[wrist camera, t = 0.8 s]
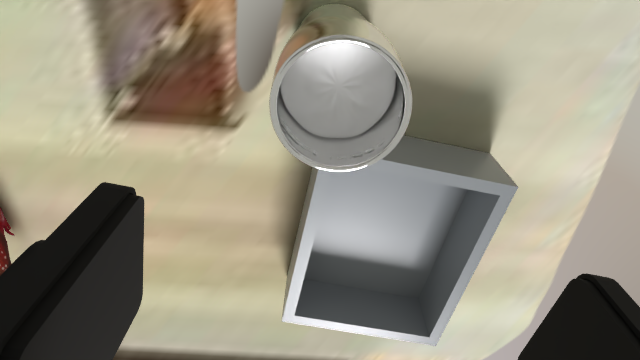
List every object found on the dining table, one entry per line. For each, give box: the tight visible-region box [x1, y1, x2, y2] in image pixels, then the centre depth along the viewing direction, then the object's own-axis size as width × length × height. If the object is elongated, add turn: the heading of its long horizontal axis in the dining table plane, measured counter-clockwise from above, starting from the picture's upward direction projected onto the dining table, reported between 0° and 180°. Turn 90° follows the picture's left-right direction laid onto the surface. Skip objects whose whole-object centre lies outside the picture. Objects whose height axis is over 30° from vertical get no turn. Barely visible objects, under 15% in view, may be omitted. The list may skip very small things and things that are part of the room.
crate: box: [282, 135, 518, 346], centre depth 37 cm, size 18×15×6 cm
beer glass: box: [269, 4, 412, 172], centre depth 25 cm, size 7×7×15 cm
